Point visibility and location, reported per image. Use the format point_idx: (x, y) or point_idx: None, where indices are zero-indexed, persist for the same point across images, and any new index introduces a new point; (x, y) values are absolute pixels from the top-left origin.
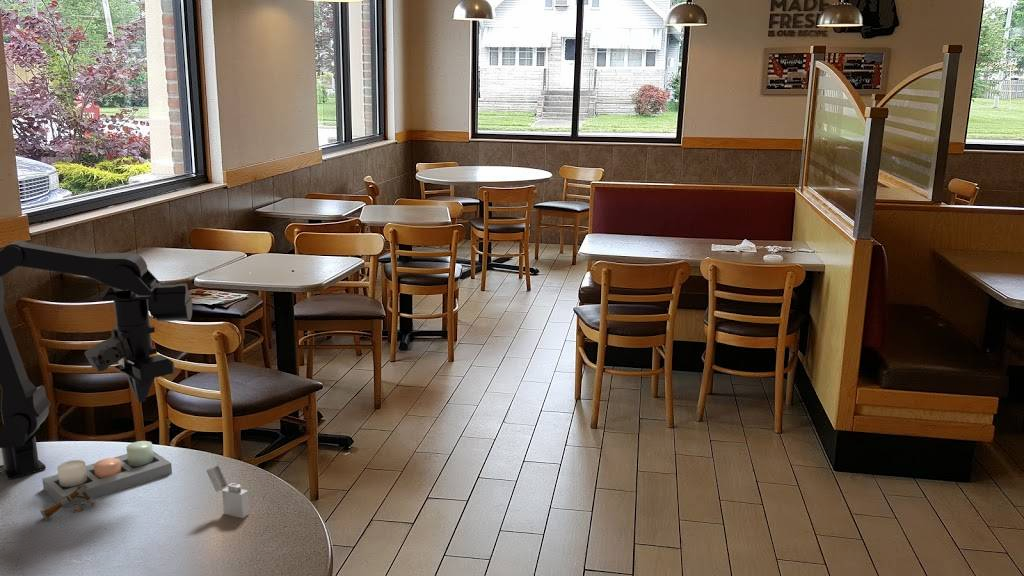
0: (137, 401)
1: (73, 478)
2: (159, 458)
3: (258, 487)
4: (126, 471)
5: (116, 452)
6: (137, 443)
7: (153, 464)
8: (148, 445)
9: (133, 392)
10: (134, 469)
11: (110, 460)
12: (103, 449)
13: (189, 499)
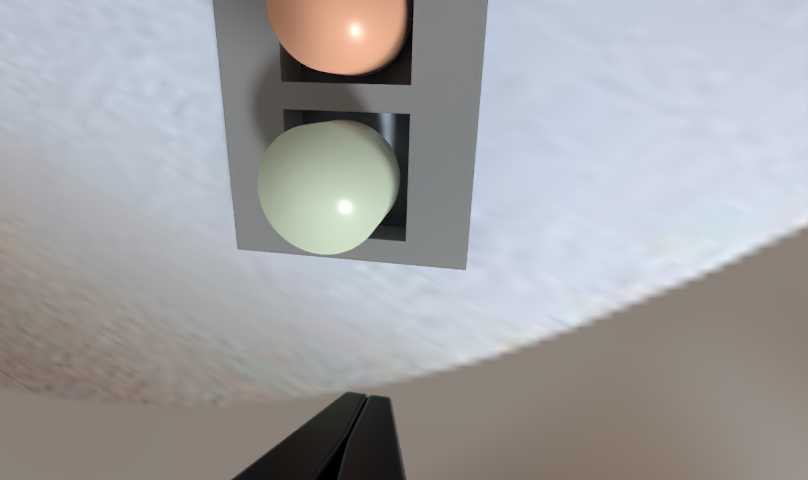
0: (379, 396)
1: None
2: None
3: (11, 342)
4: (275, 73)
5: (644, 187)
6: (356, 200)
7: None
8: (289, 225)
9: (396, 465)
10: (272, 110)
11: (352, 29)
12: (742, 160)
13: (30, 167)
